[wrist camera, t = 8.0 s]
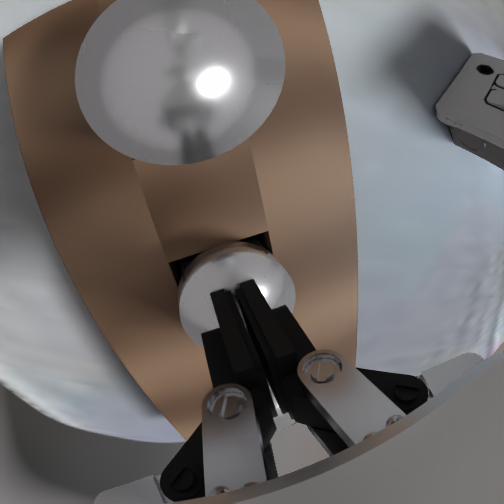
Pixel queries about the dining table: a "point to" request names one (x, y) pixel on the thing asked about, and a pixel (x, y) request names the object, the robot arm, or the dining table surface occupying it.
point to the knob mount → (190, 201)
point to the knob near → (179, 77)
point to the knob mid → (228, 282)
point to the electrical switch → (477, 108)
